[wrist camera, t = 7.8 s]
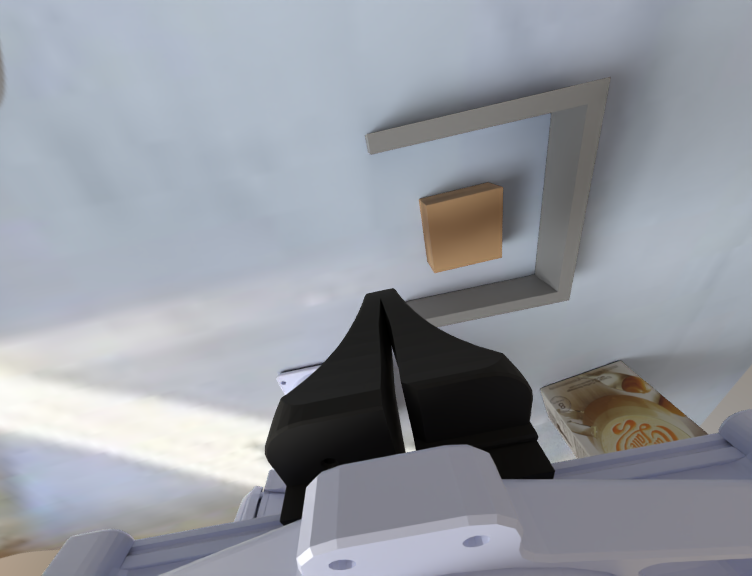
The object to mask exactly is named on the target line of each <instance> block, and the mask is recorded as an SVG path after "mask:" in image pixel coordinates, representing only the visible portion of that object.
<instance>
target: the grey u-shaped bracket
mask: <svg viewBox="0 0 752 576" xmlns="http://www.w3.org/2000/svg"><path fill="white" fill-rule="evenodd" d="M610 79H611V77H608V78H604V79H600V80H595V81H591V82H587V83H583V84H578V85H574V86H570V87H566V88H561V89H557V90H553V91H549V92H544V93H540V94H536V95H532V96H527V97H523V98H519V99H515V100H510V101H506V102H502V103H498V104H493V105H489V106H485V107H481V108H476V109H472V110H468V111H464V112H459V113H455V114H451V115H447V116H442V117H438V118H434V119H430V120H425V121H421V122H417V123H413V124H408V125H404V126H400V127H396V128H391V129H387V130H383V131H379V132H374V133H370V134H366V135H365V139H366V144H367V149H368V153H369V154H370V155H371V154H376V153H380V152H384V151H389V150H393V149H397V148H402V147H406V146H410V145H414V144H419V143H423V142H427V141H432V140H436V139H440V138H445V137H449V136H453V135H458V134H462V133H466V132H470V131H475V130H479V129H483V128H488V127H492V126H496V125H501V124H505V123H509V122H513V121H518V120H522V119H526V118H531V117H535V116H539V115H544V114H548V113H551V122H550V131H549V141H548V150H547V160H546V170H545V179H544V189H543V198H542V208H541V218H540V227H539V237H538V246H537V256H536V266H535V275H530V276H526V277H521V278H516V279H511V280H507V281H502V282H497V283H492V284H488V285H483V286H478V287H473V288H469V289H464V290H459V291H454V292H450V293H445V294H440V295H435V296H431V297H426V298H421V299H416V300H412V301H407V302H406V303H407V304H408V305H409V306H410V307H411V308H412V309H413V310H414V311H415V312H416V313H418V314H419V315H420V316H421V317H423V318H424V319H425V320H427V321H428V322H429V323H431V324H432V325H434V326H435V327H441V326H446V325H451V324H455V323H460V322H465V321H470V320H475V319H480V318H485V317H489V316H494V315H499V314H504V313H509V312H514V311H519V310H524V309H528V308H533V307H538V306H543V305H548V304H553V303H558V302H562V301H567V300H569V298H570V293H571V288H572V282H573V277H574V271H575V266H576V261H577V255H578V250H579V245H580V239H581V234H582V229H583V223H584V218H585V213H586V207H587V202H588V196H589V191H590V186H591V180H592V175H593V170H594V164H595V159H596V154H597V148H598V143H599V138H600V132H601V127H602V121H603V116H604V111H605V105H606V100H607V95H608V89H609V84H610Z"/></svg>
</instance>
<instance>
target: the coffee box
mask: <svg viewBox="0 0 752 576" xmlns="http://www.w3.org/2000/svg"><path fill="white" fill-rule="evenodd" d="M540 391H541V394H542V397H543V401H544V404H545V407H546V411H547V414H548V417H549V418H550V420H551V421H552V423H553V424H554V426H555V427H556V428H557V430H558V431H559V433H560V434H561V436H562V437H563V439H564V440H565V441H566V443H567V444H568V446H569V447H570V449H571V450H572V452H573V453H574V455H575V456H576V458H577V459H579V458H584V457H590V456H595V455H600V454H606V453H611V452H617V451H622V450H628V449H633V448H638V447H644V446H649V445H655V444H660V443H666V442H671V441H677V440H682V439H687V438H693V437H698V436H704V435H709V434H707V433H706V432H705V431H703V429H702V428H700V427H699V426H698V425H697V424H696V423H694V422H693V421H692V420H691V419H690V418H688V417H687V416H686V415H685V414H684V413H682V412H681V411H680V410H679V409H678V408H676V407H675V406H674V405H673V404H672V403H671V402H669V401H668V400H667V399H666V398H665V397H663V396H662V395H661V394H660V393H659V392H657V391H656V390H655V389H654V388H653V387H651V386H650V385H649V384H648V383H647V382H645V381H644V380H643V379H642V378H641V377H639V376H638V375H637V374H636V373H635V372H634V371H632V370H631V369H630V368H629V367H628V366H626V365H625V364H624V363H623V362H622V361H617V362H615V363H612V364H609V365H606V366H603V367H600V368H597V369H594V370H592V371H589V372H586V373H583V374H580V375H577V376H575V377H572V378H569V379H566V380H563V381H560V382H557V383H554V384H552V385H549V386H546V387H544V388H541V389H540Z"/></svg>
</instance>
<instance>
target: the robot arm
mask: <svg viewBox="0 0 752 576" xmlns="http://www.w3.org/2000/svg"><path fill="white" fill-rule="evenodd" d="M391 345H392V346H391ZM392 349H393V352H394V355H395V358H396V362H397V365H398V368H399V373H400V379H401V384H402V388H403V393H404V397H405V402H406V406H407V411H408V415H409V419H410V424H411V428H412V433H413V437H414V442H415V447H416V451H412V452H407V453H406V452H405V447H404V441H403V436H402V430H401V424H400V419H399V413H398V407H397V401H396V395H395V386H394V373H393V359H392ZM277 381H278V383H279V385H280V387H281V388H282V390H283V392H284V394H285V396H283V397H282V398H281V400H280V402H279V405H278V407H277V409H276V412H275V415H274V418H273V421H272V424H271V428H270V431H269V434H268V438H267V441H266V445H265V456H266V458H267V460H268V462H269V463H270V465H271V466H272V470H270V471H269V473H268V477H267V481H266V485H265V489H264V492H262V490H263V487H260V486H255V487H254V488H253V489H252V491H250V492H249V493H248V494H247V495H246V496H244V498H243V500H242V502H241V504H240V507H239V509H238V512H237V515H236V518H235V521H234V522H231V523H225V524H220V525H214V526H209V527H204V528H198V529H193V530H187V531H182V532H176V533H171V534H166V535H160V536H155V537H149V538H144V539H138V540H134V539H133V537H132V536H130V535H129V534H128V533H126V532H124V531H121V530H117V529H104V530H99V531H94V532H88V533H83V534H78V535H73V536H71V537H69V538H68V540H67V541H66V542H65V544H64V545H63V546H62V548H61V549H60V551H59V552H58V553H57V555H56V556H55V558H54V559H53V560H52V562H51V563H50V564H49V566H48V567H47V569H46V570H45V571H44V573H43V574H42V576H752V409H748V410H743V411H740V412H737V413H734V414H733V415H731V416H729V417H728V418H727V419H726V420H724V422H723V423H722V424H721V426H720V428H719V433H715V434H709V435H704V436H698V437H693V438H687V439H682V440H677V441H671V442H666V443H660V444H655V445H649V446H644V447H638V448H633V449H628V450H622V451H617V452H611V453H606V454H600V455H595V456H590V457H584V458H579V459H573V460H568V461H562V462H557V463H552V464H551V463H550V461H549V460H548V458H547V456H546V455H545V453H544V452H543V450H542V448H541V447H540V445H539V443H538V442H537V440H538V435H537V432H536V431H535V429H534V428H533V426H532V424H531V423H530V416H531V408H532V401H533V395H532V389H531V387H530V385H529V384H528V382H527V381H526V379H525V378H524V376H523V375H522V374H521V372H520V371H519V370H518V369H517V368H516V367H515V366H514V365H513V364H512V362H511V361H510V360H509V359H508V358H507V357H506V356H505V355H504V354H503V353H499V352H496V351H493V350H489V349H486V348H482V347H479V346H476V345H473V344H471V343H468V342H465V341H463V340H460V339H458V338H456V337H454V336H452V335H450V334H448V333H446V332H444V331H442V330H440V329H438V328H437V327H435V326H434V325H432V324H431V323H429V322H428V321H427V320H425V319H424V318H423V317H421V316H420V315H419V314H418V313H416V312H415V311H414V310H413V309H412V308H411V307H410V306H409V305H408V304H407V303H406V302H405V301H404V300H403V299H402V298H401V297H400V295H399V294H398V293H397V291H396V290H395V289H394V288H392V289H387V290H382V291H377V292H373V293H368V294H366V295H365V297H364V300H363V303H362V306H361V308H360V310H359V312H358V314H357V316H356V319H355V321H354V322H353V324H352V326H351V328H350V329H349V331H348V333H347V334H346V336H345V337H344V339H343V340H342V342H341V343H340V344H339V346H338V347H337V348H336V350H335V351H334V352H333V353H332V354H331V355H330V356H329V357H328V359H327V360H326V361H325V362H324V363H323V364H322V365H319V366H314V367H309V368H304V369H299V370H294V371H290V372H285V373H280V374H278V376H277ZM283 381H285V382H283Z"/></svg>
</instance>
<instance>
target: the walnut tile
mask: <svg viewBox="0 0 752 576" xmlns="http://www.w3.org/2000/svg"><path fill="white" fill-rule="evenodd" d="M419 204H420V211H421V219H422V226H423V233H424V241H425V248H426V255H427V262H428V263H429V265H430V266H431V268H432V270H433V271H434V273H437V272H442V271H446V270H450V269H455V268H459V267H463V266H468V265H472V264H476V263H480V262H485V261H489V260H493V259H498V258H502V218H503V187H501V186H498V185H495V184H492V183H488V182H487V183H483V184H479V185H475V186H470V187H466V188H462V189H458V190H454V191H450V192H446V193H442V194H438V195H433V196H429V197H425V198H421V199H419Z"/></svg>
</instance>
